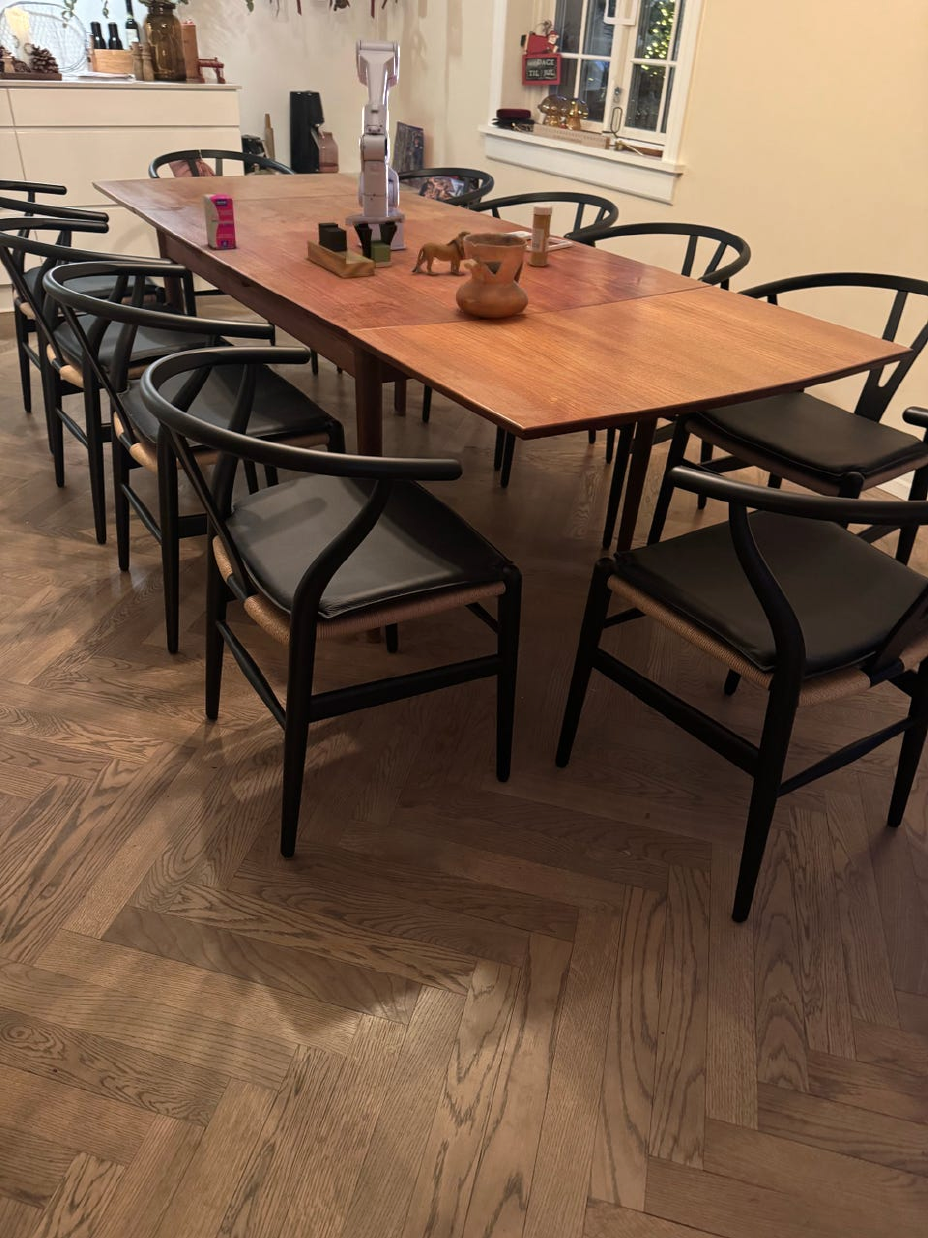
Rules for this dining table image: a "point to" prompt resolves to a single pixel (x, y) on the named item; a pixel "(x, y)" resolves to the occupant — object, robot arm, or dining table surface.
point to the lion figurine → (443, 254)
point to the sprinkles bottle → (540, 234)
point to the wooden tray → (340, 261)
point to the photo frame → (561, 242)
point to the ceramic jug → (493, 275)
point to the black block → (332, 237)
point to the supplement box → (219, 221)
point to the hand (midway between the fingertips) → (376, 257)
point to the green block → (380, 253)
